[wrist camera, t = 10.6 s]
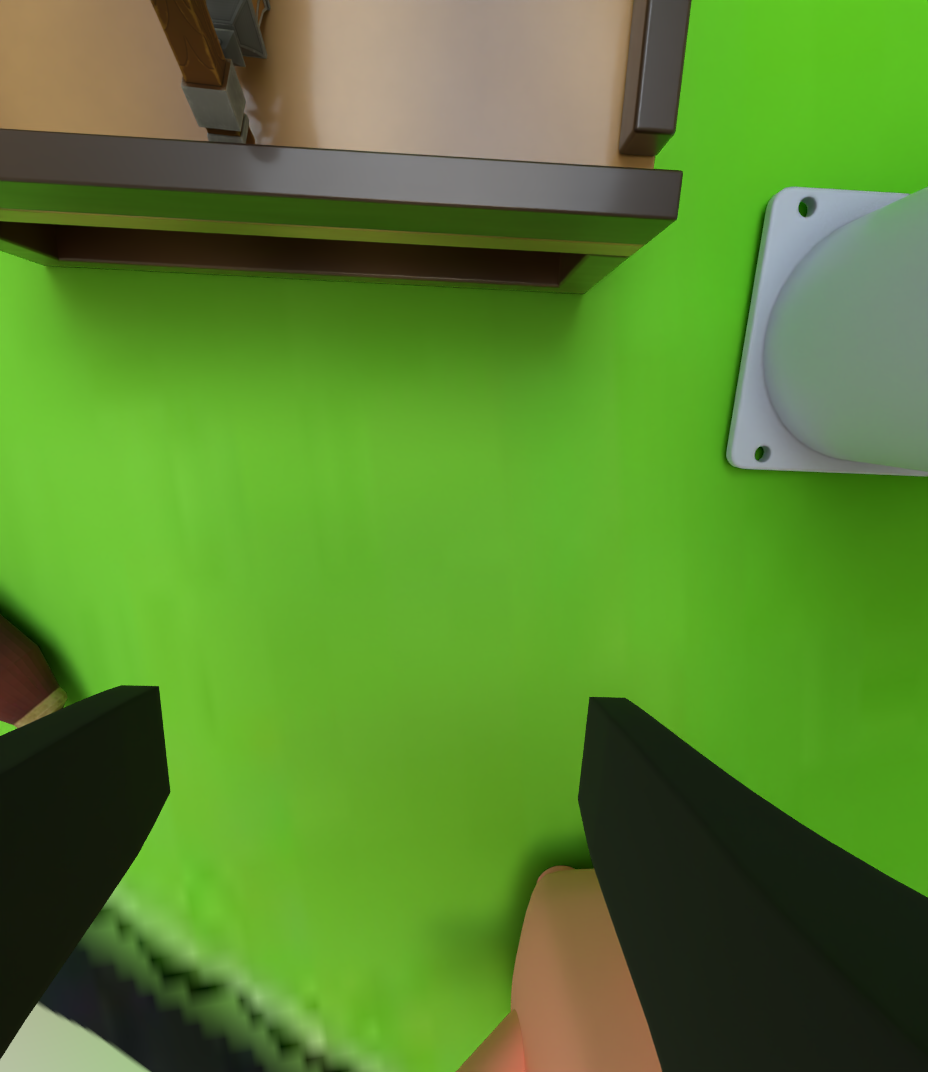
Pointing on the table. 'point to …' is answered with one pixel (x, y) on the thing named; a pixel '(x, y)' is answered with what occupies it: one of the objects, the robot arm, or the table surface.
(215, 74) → the wooden post with brackets
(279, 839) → the table surface
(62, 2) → the shallow wooden tray
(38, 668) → the gavel
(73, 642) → the table surface
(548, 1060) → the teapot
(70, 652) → the table surface
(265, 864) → the table surface
